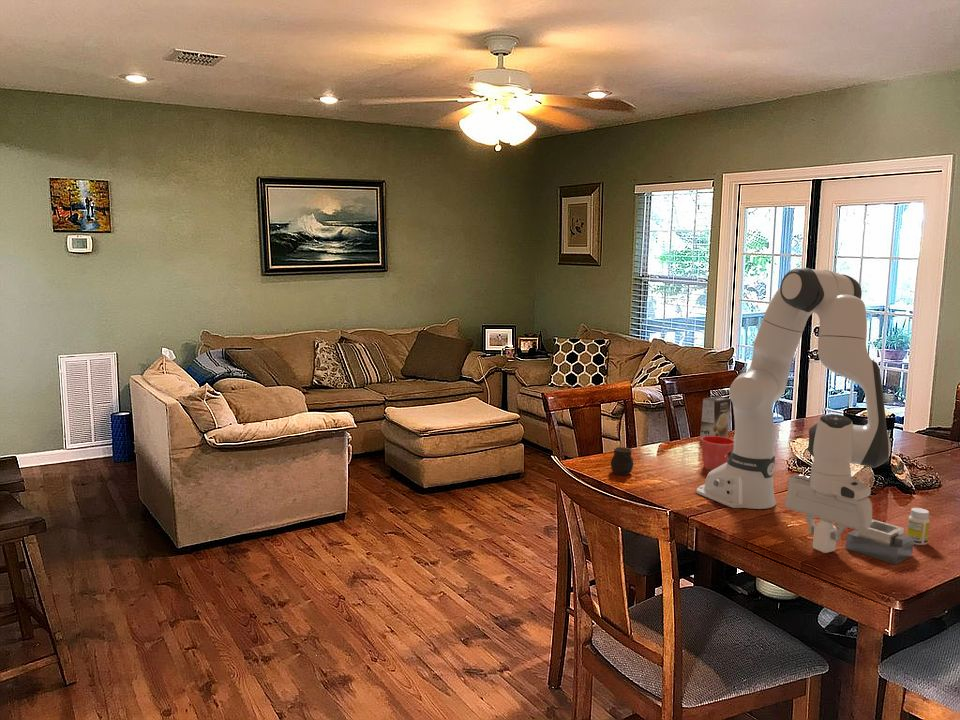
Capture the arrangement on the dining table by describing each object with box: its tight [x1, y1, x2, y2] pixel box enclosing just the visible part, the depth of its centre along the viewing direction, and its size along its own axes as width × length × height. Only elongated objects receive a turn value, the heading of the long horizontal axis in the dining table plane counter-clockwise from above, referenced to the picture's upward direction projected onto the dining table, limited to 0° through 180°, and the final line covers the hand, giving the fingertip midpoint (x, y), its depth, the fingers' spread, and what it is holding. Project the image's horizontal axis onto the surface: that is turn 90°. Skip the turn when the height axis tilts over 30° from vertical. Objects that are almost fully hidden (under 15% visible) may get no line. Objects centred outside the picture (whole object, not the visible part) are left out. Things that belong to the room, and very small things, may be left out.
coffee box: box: [699, 396, 732, 441], centre depth 295 cm, size 9×6×16 cm
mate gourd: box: [610, 445, 635, 476], centre depth 251 cm, size 7×8×10 cm
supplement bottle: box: [906, 507, 931, 546], centre depth 199 cm, size 5×5×8 cm
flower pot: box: [700, 436, 734, 471], centre depth 259 cm, size 11×11×10 cm
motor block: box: [845, 518, 914, 566], centre depth 192 cm, size 12×9×6 cm
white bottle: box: [812, 518, 838, 554], centre depth 192 cm, size 4×4×10 cm
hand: (824, 536), depth 192 cm, fingers closed on white bottle, 4 cm apart
